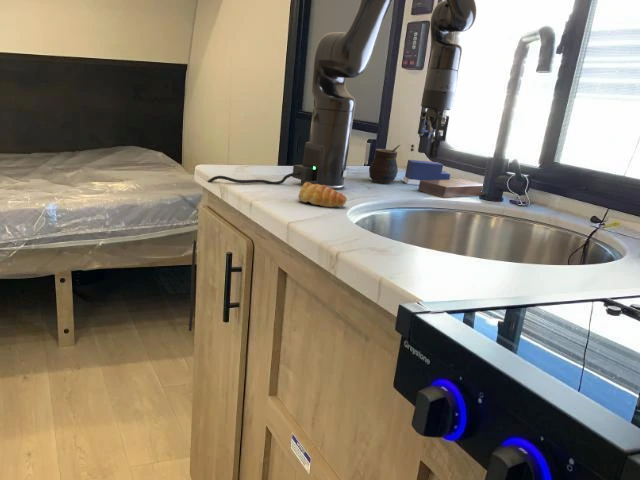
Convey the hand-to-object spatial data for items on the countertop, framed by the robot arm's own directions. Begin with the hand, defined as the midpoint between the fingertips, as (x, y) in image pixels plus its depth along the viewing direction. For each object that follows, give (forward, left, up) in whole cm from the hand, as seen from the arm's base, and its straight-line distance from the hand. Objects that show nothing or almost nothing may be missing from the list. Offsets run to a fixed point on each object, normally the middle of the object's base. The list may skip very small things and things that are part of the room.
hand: (427, 155), depth 154 cm
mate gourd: (-11, +3, -8) cm, 14 cm away
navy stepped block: (+1, -1, -7) cm, 7 cm away
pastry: (-46, -14, -8) cm, 49 cm away
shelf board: (-1, -11, -7) cm, 13 cm away
